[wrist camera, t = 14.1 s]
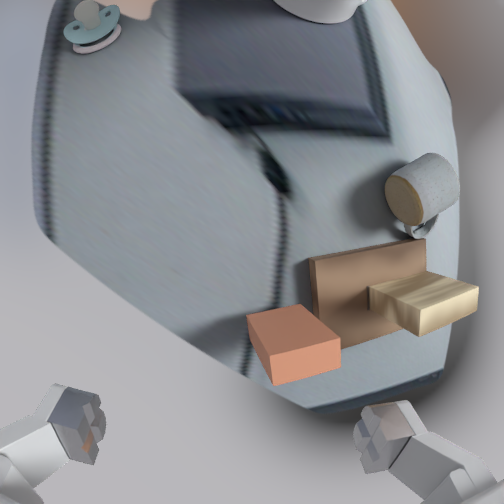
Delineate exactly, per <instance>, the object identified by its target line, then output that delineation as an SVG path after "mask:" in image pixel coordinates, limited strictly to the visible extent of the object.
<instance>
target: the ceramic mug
mask: <svg viewBox="0 0 504 504" xmlns="http://www.w3.org/2000/svg"><path fill="white" fill-rule="evenodd" d="M459 193H460V184H459V179H458V176H457V174H456V172H455V170H454V168H453V167H452V165H451V164H450V163H449V162H448V161H447V160H446V159H445V158H444V157H442V156H441V155H439V154H436V153H427V154H425V155H423V156H421V157H420V158H418V159H416V160H414V161H412V162H411V163H409V164H408V165H406V166H404V167H402V168H400V169H398V170H397V171H395V172H394V173H393V174H392V175H391V176H390V177H389V178H388V179H387V181H386V183H385V196H386V200H387V203H388V205H389V207H390V209H391V211H392V212H393V214H394V215H395V216H396V217H397V218H398V219H399V220H400V221H401V222H403V223H404V227H405V230H406V232H407V233H408V234H409V235H410V236H411V237H413V238H415V239H421V238H423V237H425V236H426V235H428V234H429V233H430V232H431V230H432V229H433V228H434V226H435V224H436V222H437V219H438V216H439V213H440V212H442V211H444V210H446V209H447V208H449V207H450V206H452V205H453V204H454V203H456V201H457V200H458V197H459ZM425 222H426V223H425ZM422 223H425V225H424V226H423V227H422V228H420V229H418V230H416V231H413V230H412V226H416V225H419V224H422Z"/></svg>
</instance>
